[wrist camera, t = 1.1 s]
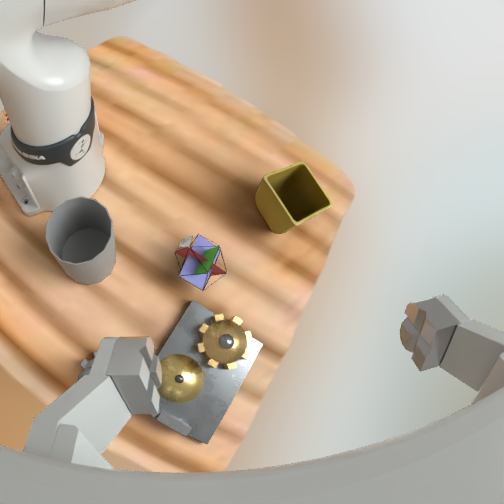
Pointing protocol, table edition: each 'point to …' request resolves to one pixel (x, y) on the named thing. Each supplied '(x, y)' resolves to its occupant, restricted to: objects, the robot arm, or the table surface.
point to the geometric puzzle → (199, 261)
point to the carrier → (196, 379)
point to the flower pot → (290, 197)
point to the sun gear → (223, 342)
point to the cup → (82, 239)
